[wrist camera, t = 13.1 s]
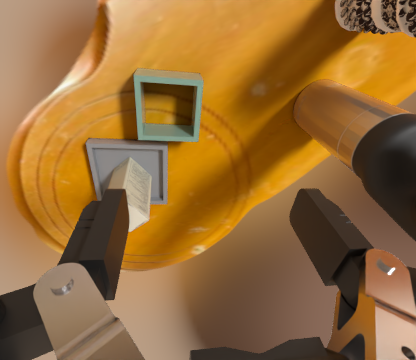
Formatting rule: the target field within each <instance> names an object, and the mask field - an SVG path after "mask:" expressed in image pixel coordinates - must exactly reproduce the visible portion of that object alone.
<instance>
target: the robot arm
mask: <svg viewBox="0 0 416 360" xmlns="http://www.w3.org/2000/svg"><path fill="white" fill-rule="evenodd" d="M293 115H294V119H295V121H296V123H297V124H298V125H299V126H300V127H301V128H302V129H303V130H305V131H306V132H307V133H308V134H309V135H310V136H311V137H313V138H314V139H315V140H316V141H317V142H318V143H320V144H321V145H322V146H323V147H324V148H325V149H327V150H328V151H329V152H330V153H331V154H333V155H334V156H335V157H336V158H337V159H339V160H340V161H341V162H342V163H343V164H344V165H346V166H347V167H348V168H349V169H350V170H351V171H353V172H354V173H355V174H356V175H357V176H358V177H359V178H361V180H362V183H363V186H364V188H365V190H366V191H367V193H368V194H369V195H370V196H371V197H372V198H373V199H374V200H375V201H376V202H377V203H378V204H379V205H380V206H381V207H382V208H383V209H384V210H385V211H386V212H387V213H388V214H389V216H390V217H391V218H393V220H394V221H395V222H396V223H397V224H398V225H399V226H400V227H401V228H402V229H403V230H404V231H405V232H406V233H408V235H409V236H410V237H412V238H413V239H414V240H415V241H416V114H413V113H411V112H408V111H406V110H403V109H401V108H398V107H396V106H393V105H391V104H388V103H386V102H383V101H381V100H379V99H376V98H374V97H371V96H369V95H366V94H364V93H361V92H359V91H356V90H354V89H351V88H349V87H347V86H344V85H342V84H339V83H337V82H334V81H332V80H326V79H324V80H319V81H316V82H313V83H312V84H310V85H308V86H307V87H306V88H305V89H304V90H303V91H302V92H301V93H300V95H299V96H298V98H297V100H296V102H295V105H294V109H293ZM290 223H291V225H292V227H293V229H294V231H295V233H296V234H297V236H298V238H299V240H300V241H301V243H302V245H303V247H304V249H305V250H306V252H307V254H308V256H309V258H310V259H311V261H312V262H313V264H314V266H315V268H316V270H317V272H318V274H319V275H320V277H321V279H322V281H323V283H324V284H325V286H331V285H337V286H338V288H339V291H338V292H337V294H336V302H335V310H334V319H333V326H332V334H331V337H330V340H329V343H328V344H327V348H324V346H323V344H322V342H321V340H320V337H313V338H304V339H295V340H289V341H287V342H285V343H283V344H280V345H279V346H276V347H274V348H273V349H270V350H268V351H266V352H264V353H260V354H258V353H252V352H247V351H242V350H237V349H232V348H227V347H219V348H210V349H201V350H192V351H190V360H416V269H415V268H411V267H406V266H405V265H404V263H403V262H401V260H400V259H398V258H397V257H395V256H394V255H393V254H391V253H389V252H386V251H383V250H381V249H374V247H373V246H372V245H371V244H370V243H369V242H368V241H367V239H366V238H365V237H364V236H363V235H362V234H361V232H360V231H359V230H358V229H357V228H356V227H355V226H354V225H353V223H351V221H350V220H349V218H348V217H347V216H345V214H344V213H343V211H342V210H341V209H340V208H339V207H338V206H337V205H336V204H334V203H333V202H331V201H330V200H328V199H326V198H325V196H324V195H323V194H322V193H321V192H320V190H319V189H300V190H299V192H298V193H297V196H296V199H295V201H294V204H293V206H292V209H291V211H290ZM128 230H129V209H128V202H127V195H126V190H125V189H106V190H105V192H104V195H103V197H102V200H101V201H92V202H91V203H90V204H88V205H87V206H86V207H85V208H84V209H83V211H82V213H81V215H80V218H79V221H78V222H77V224H76V226H75V230H74V231H73V233H72V235H71V237H70V239H69V242H68V244H67V246H66V248H65V250H64V253H63V255H62V257H61V259H60V261H59V263H58V265H57V266H56V267H54V268H52V269H50V270H49V271H47V272H46V273H45V274H44V275H43V276H42V277H41V278H40V279H39V280H38V282H37V283H36V284H34V285H31V286H28V287H25V288H22V289H19V290H16V291H13V292H10V293H7V294H4V295H1V296H0V360H32V359H34V358H36V357H39V356H41V355H43V354H46V353H48V352H50V351H53V350H54V351H55V354H56V357H57V360H145V359H144V357H143V356H142V354H141V352H140V351H139V349H138V348H137V346H136V344H135V343H134V341H133V339H132V338H131V336H130V335H129V333H128V331H127V330H126V328H125V327H124V325H123V324H122V322H121V321H120V319H119V318H116V317H115V316H114V315H113V313H112V312H111V310H110V308H109V306H108V305H107V303H106V302H105V300H114V299H115V293H116V289H117V284H118V279H119V274H120V269H121V264H122V260H123V255H124V250H125V245H126V240H127V235H128Z"/></svg>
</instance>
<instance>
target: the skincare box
mask: <svg viewBox="0 0 416 360" xmlns="http://www.w3.org/2000/svg"><path fill="white" fill-rule="evenodd" d="M151 182H152V176H151V175H150V174H148V173H147V172H146V171H145V170H144V169H143V168H142V167H141V166H140V165H139V164H138V163H137V162H135V161H134V160H133V159H132V158H131V157H129V158H127V159H126V160H125V161H123V162H122V163H121V164H119V165H118V166H117V167H116V168H114V171H113V174H112V177H111V180H110V184H109V187H108V189H125V190H126V195H127V202H128V209H129V230H128V231H129V232H131V231H133V230H134V229H136V228H138V227H139V226H141V225H142V224H144V223H145V222H147V221H148V220H149V214H150V198H151Z"/></svg>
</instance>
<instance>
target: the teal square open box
mask: <svg viewBox="0 0 416 360" xmlns="http://www.w3.org/2000/svg"><path fill="white" fill-rule="evenodd" d="M144 82H151V83H164V84H178V85H191V86H194V93H193V108H192V123H191V125H170V124H148V123H146V120H145V100H144ZM134 88H135V102H136V116H137V130H138V140H158V141H186V142H198V138H199V127H200V115H201V104H202V92H203V79H202V77H201V75H200V73H189V72H177V71H166V70H154V69H142V68H137V70H136V72H135V73H134Z"/></svg>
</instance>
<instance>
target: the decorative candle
mask: <svg viewBox="0 0 416 360" xmlns="http://www.w3.org/2000/svg"><path fill="white" fill-rule="evenodd" d="M335 16H336V19H337V21H338V23H339V24H340V26H341V27H342V28H344V29H346V30H348V31H357V32H361V31H362V29H363V28H364V33H368V32H369V31H371V32H372V33H373V34H376V33H378V32H379V33H380V34H382V35H383V34H386V33H388V32H390V33H394V32H404V33H405V34H407V35H409V36H411V37H416V0H336V1H335Z"/></svg>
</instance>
